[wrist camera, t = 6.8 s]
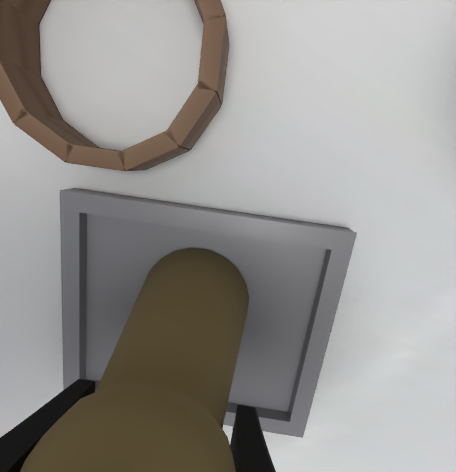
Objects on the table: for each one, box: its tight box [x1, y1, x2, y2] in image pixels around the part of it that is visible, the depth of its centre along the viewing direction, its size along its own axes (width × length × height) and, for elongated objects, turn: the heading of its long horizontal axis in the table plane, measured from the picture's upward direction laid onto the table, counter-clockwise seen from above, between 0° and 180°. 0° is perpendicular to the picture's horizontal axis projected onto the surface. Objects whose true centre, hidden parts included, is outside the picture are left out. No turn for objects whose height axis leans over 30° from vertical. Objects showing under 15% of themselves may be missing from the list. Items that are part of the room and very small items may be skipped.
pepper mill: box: [20, 249, 249, 472], centre depth 10 cm, size 6×6×11 cm
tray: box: [60, 188, 357, 437], centre depth 16 cm, size 15×13×1 cm
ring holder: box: [0, 0, 229, 171], centre depth 12 cm, size 10×10×2 cm
